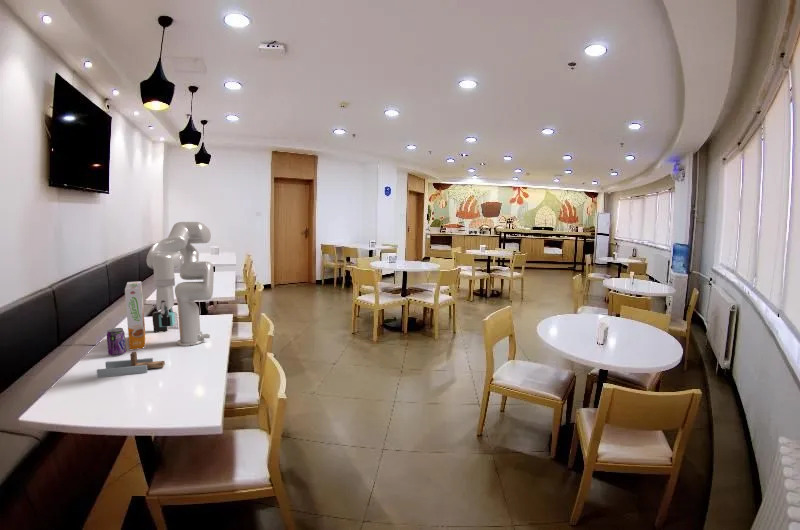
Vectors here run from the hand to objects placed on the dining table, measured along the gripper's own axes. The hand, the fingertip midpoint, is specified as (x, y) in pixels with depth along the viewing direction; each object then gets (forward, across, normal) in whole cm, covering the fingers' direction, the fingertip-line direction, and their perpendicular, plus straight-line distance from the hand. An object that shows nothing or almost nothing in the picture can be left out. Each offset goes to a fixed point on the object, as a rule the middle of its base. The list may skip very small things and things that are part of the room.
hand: (167, 323), depth 182 cm
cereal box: (+20, -41, -24) cm, 51 cm away
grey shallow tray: (+19, 0, -17) cm, 26 cm away
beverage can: (+20, -24, -28) cm, 42 cm away
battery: (+20, -60, -18) cm, 66 cm away
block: (+1, 0, 0) cm, 1 cm away
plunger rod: (+19, 0, -9) cm, 21 cm away
